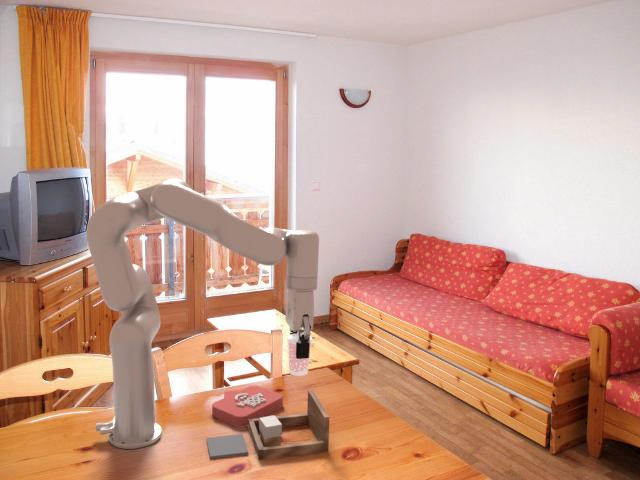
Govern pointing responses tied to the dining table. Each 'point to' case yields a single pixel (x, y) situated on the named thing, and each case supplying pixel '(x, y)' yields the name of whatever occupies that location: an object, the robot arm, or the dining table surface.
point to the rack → (313, 417)
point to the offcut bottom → (270, 441)
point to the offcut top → (270, 427)
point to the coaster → (227, 446)
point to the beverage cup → (296, 365)
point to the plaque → (246, 405)
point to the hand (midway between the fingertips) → (299, 352)
